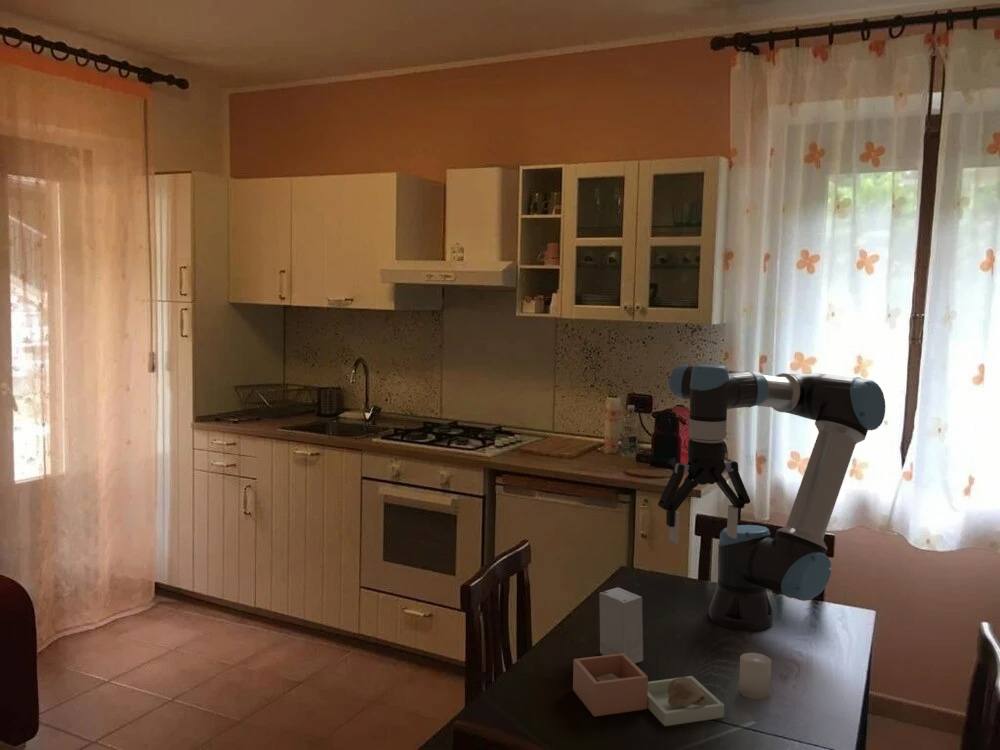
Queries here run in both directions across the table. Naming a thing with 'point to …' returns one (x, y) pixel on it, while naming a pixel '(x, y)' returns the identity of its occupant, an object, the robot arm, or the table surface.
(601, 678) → the walnut block
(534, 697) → the table surface
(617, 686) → the pink open box
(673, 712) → the green dish
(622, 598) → the skincare box
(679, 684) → the stone
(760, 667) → the beige rounded capsule
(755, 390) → the robot arm
